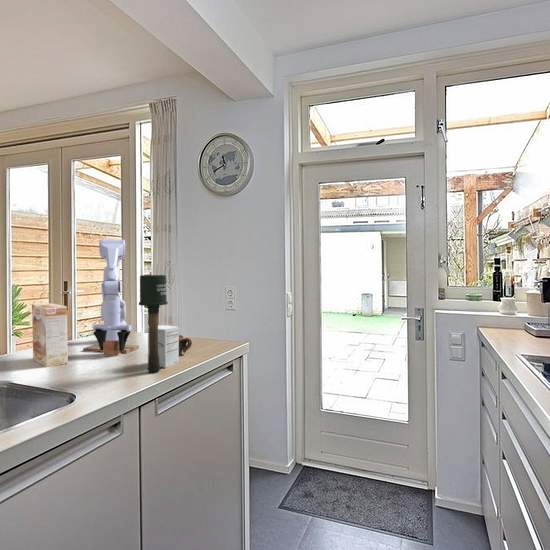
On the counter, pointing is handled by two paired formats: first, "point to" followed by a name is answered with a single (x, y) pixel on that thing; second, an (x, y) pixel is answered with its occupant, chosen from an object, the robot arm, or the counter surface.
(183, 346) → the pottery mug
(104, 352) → the brown block with stick
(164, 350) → the supplement box
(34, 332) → the coffeecake box
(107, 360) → the counter surface
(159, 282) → the stick grenade
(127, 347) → the board
